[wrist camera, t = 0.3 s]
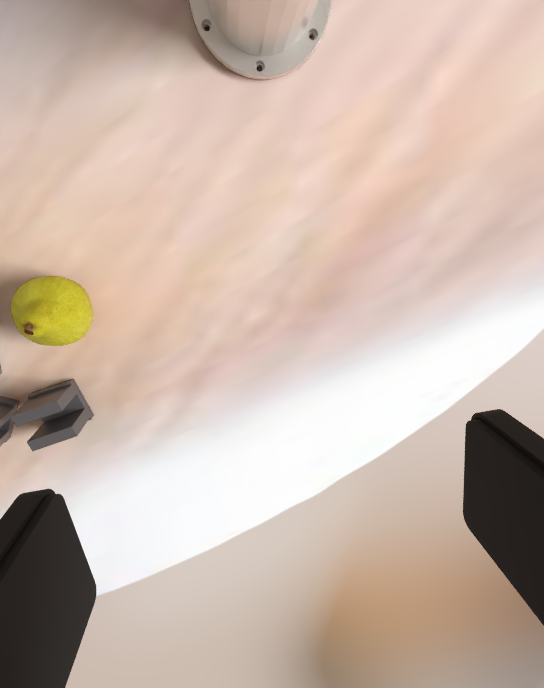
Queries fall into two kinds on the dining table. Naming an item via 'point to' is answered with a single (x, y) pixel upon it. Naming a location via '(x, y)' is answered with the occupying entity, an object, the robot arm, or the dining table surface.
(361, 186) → the dining table surface
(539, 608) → the robot arm
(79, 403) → the clip
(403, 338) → the dining table surface
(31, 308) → the fruit
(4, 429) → the clip
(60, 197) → the dining table surface
